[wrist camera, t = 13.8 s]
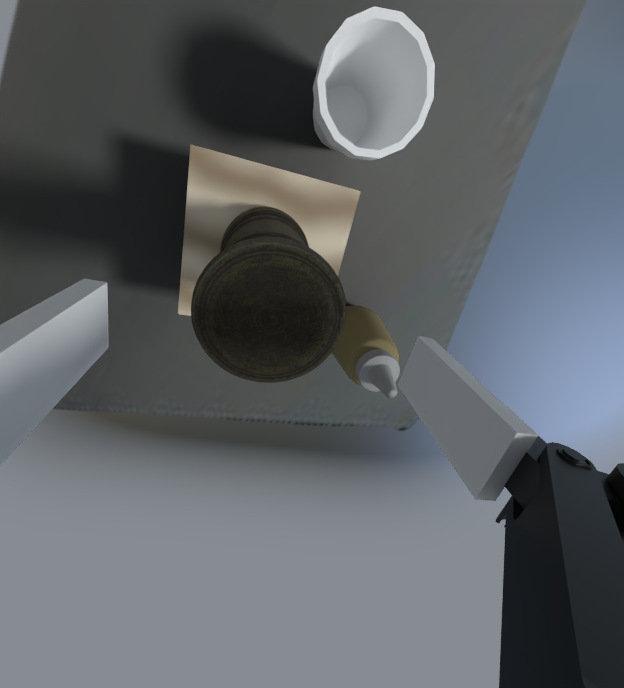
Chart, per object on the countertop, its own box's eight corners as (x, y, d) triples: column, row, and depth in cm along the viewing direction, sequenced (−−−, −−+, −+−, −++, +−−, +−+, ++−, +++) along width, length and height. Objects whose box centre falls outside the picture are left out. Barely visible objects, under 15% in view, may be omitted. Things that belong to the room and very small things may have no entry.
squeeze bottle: (377, 340, 50) (432, 413, 34) (327, 354, 50) (358, 434, 34) (370, 291, 47) (428, 347, 31) (315, 305, 46) (345, 370, 30)
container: (271, 186, 31) (283, 189, 15) (325, 262, 35) (381, 328, 19) (200, 247, 32) (142, 308, 16) (260, 313, 36) (261, 415, 20)
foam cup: (315, 178, 39) (338, 175, 28) (285, 87, 35) (298, 39, 23) (389, 146, 39) (444, 131, 27) (368, 51, 35) (423, -15, 23)
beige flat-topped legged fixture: (205, 152, 37) (190, 144, 29) (340, 189, 40) (360, 191, 32) (193, 289, 43) (177, 313, 35) (310, 310, 47) (321, 336, 39)
